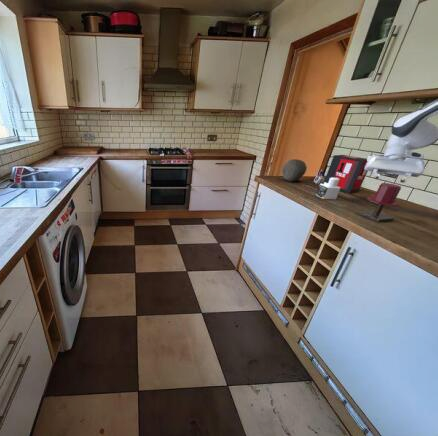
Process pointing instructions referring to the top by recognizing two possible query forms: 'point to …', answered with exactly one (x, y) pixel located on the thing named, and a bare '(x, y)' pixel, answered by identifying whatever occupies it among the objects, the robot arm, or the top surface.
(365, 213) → the hat stand
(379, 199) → the hat
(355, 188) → the cleaning product box
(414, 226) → the top surface
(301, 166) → the grey stone ball
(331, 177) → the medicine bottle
